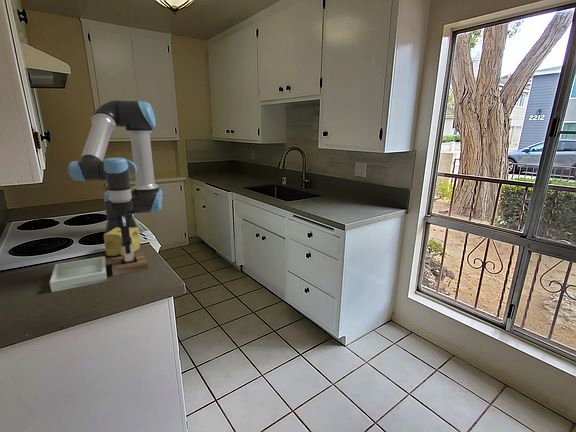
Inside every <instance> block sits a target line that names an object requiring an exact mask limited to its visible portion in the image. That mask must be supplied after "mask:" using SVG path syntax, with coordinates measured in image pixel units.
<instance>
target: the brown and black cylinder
mask: <svg viewBox="0 0 576 432" xmlns="http://www.w3.org/2000/svg"><path fill="white" fill-rule="evenodd" d="M130 241H131V248H132V256H133V260H131V261H126V262H125V256H124V249H123V246H121V249H122V256H123V263H124V264H130V263H135V259H134V254H135V252H134V251H133V244H132V239H130ZM120 242H121V245H122V244H123V240H121V241H120ZM122 256H121V257H122Z"/></svg>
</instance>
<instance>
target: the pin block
mask: <svg viewBox="0 0 576 432" xmlns="http://www.w3.org/2000/svg"><path fill="white" fill-rule="evenodd" d="M134 259H135V263H130V264H124V263H123V256H117V257H111V259H110V262H111V271H112V277H117V276H122V275H127V274H132V273H136V272H142V271H148V270H149V265H148V261H147V258H146V256H145V252H140V253H134Z"/></svg>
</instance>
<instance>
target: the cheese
mask: <svg viewBox="0 0 576 432" xmlns="http://www.w3.org/2000/svg"><path fill="white" fill-rule="evenodd" d="M129 233H130V237H131V239H132V244H133V251H134V253H135V252H137V251H138V250H139V249H141V236H140V231H139V226H138V227H134V228H129ZM103 240H104V241H103V242H104V247H105V253H106V256H109V257H115V256H117V257H118V256H120V257H122V249H121V242H120V241H121V240H122V237H121V228H114V229H113V230H111V231H109V232H108V233H106V234H105V233H104V234H103Z"/></svg>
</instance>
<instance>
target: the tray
mask: <svg viewBox="0 0 576 432" xmlns="http://www.w3.org/2000/svg"><path fill="white" fill-rule="evenodd" d="M107 276H108V274H107V260H106V256H105V255H104V256H103V255H102V256H98V257H92V258H87V259H86V258H85V259H80V260H74V261H69V262H68V261H67V262H63V263H61V262H60V263H56V264H55V265H54V267H53V270H52V275H51V276H50V280H49V287H50V290H51V293H54V292H59V291H64V290H69V289H74V288H79V287H84V286H89V285H95V284H99V283H104V282H108V277H107Z"/></svg>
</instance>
